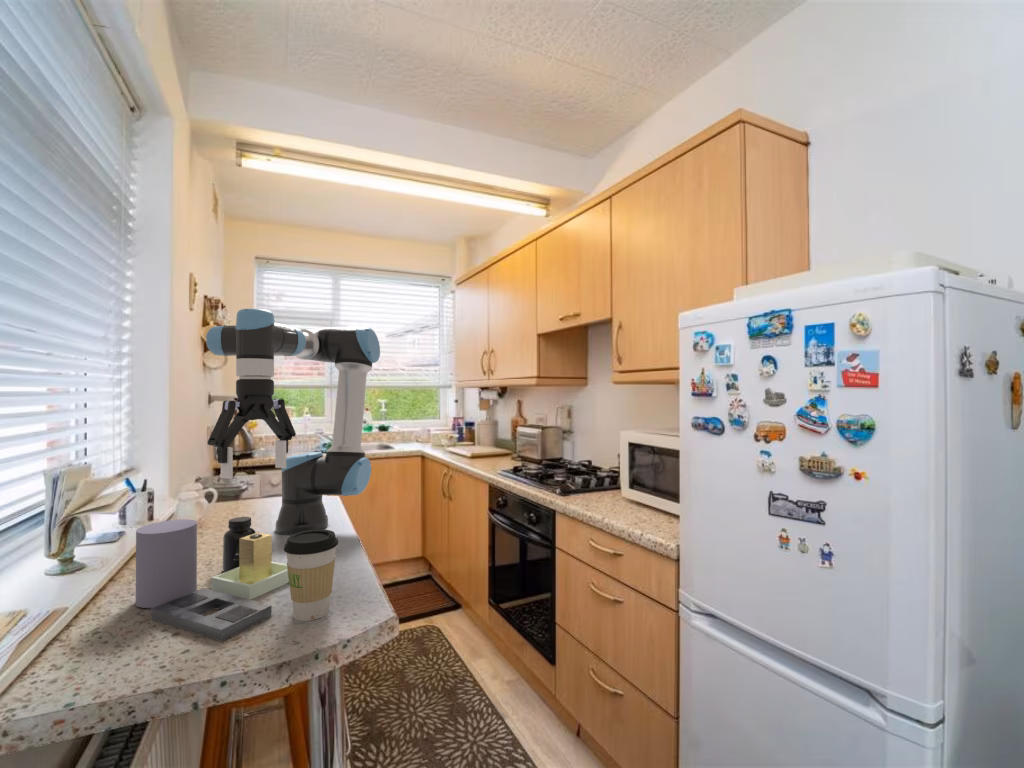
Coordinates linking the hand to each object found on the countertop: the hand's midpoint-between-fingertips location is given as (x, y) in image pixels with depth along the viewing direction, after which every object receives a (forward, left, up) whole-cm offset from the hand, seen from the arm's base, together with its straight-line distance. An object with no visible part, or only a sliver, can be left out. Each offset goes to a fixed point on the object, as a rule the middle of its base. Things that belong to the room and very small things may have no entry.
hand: (255, 472), depth 106 cm
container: (+12, -10, -25) cm, 30 cm away
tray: (0, +1, -25) cm, 25 cm away
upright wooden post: (0, +1, -24) cm, 24 cm away
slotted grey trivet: (+14, +7, -25) cm, 29 cm away
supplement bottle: (-5, -11, -25) cm, 28 cm away
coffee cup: (+6, +23, -25) cm, 34 cm away
